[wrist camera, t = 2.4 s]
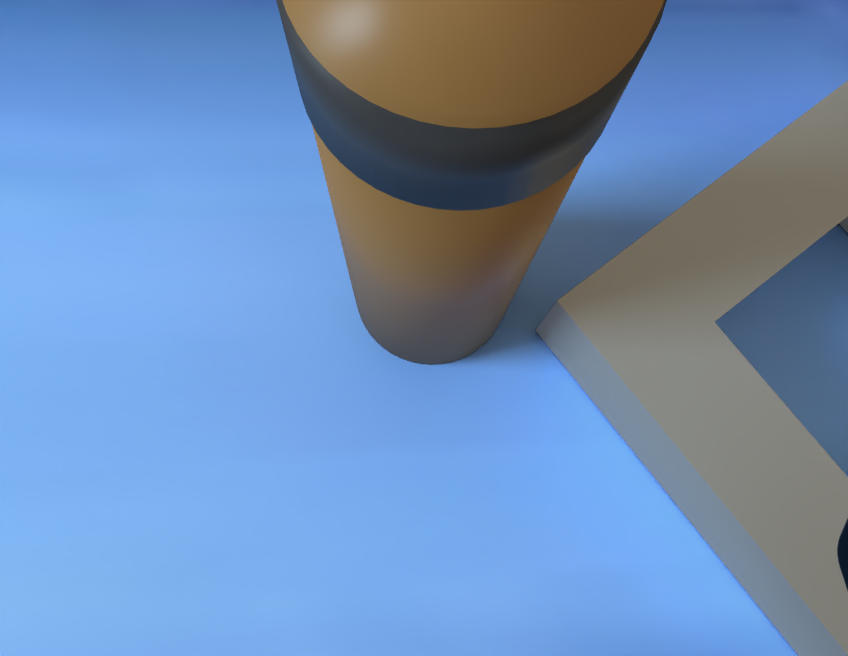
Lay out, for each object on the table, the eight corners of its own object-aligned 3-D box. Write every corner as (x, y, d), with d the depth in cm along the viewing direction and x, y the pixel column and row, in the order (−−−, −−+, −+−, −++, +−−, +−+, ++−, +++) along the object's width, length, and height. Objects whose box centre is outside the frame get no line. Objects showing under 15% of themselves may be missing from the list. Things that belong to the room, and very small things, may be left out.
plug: (540, 304, 20) (762, -27, 8) (416, 398, 20) (433, 204, 7) (445, 188, 21) (504, -294, 8) (322, 274, 20) (184, -104, 8)
